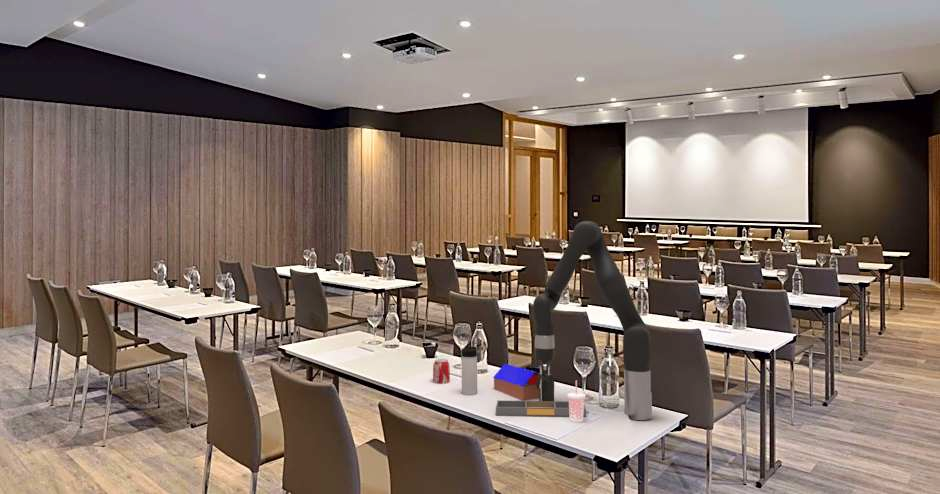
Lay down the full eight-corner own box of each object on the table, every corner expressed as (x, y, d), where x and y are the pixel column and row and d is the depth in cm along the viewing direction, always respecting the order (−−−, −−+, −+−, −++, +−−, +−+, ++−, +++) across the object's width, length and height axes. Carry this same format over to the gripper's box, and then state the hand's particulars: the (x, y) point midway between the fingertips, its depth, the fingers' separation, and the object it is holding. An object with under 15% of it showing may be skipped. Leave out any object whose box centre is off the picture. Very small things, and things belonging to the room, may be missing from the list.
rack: (583, 409, 242) (583, 401, 242) (586, 417, 232) (585, 408, 232) (497, 408, 245) (497, 400, 245) (495, 415, 235) (495, 407, 235)
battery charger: (547, 401, 254) (547, 372, 254) (554, 403, 251) (554, 373, 251) (535, 404, 250) (535, 375, 250) (542, 406, 247) (542, 376, 247)
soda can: (449, 390, 275) (449, 361, 275) (432, 390, 275) (432, 362, 275) (450, 386, 282) (449, 358, 282) (433, 386, 282) (433, 359, 282)
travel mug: (481, 397, 263) (480, 347, 262) (469, 400, 258) (469, 349, 258) (469, 394, 267) (469, 345, 267) (458, 397, 262) (458, 347, 262)
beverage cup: (576, 423, 224) (576, 382, 224) (563, 419, 229) (563, 379, 229) (589, 420, 227) (588, 380, 227) (576, 416, 232) (576, 377, 232)
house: (515, 389, 276) (515, 362, 276) (547, 399, 259) (546, 369, 259) (493, 393, 269) (492, 365, 269) (523, 403, 253) (523, 373, 253)
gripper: (555, 349, 243) (554, 393, 243) (553, 343, 257) (553, 384, 257) (534, 349, 243) (534, 392, 244) (534, 343, 258) (534, 384, 258)
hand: (544, 388), depth 250 cm, fingers open, 8 cm apart
